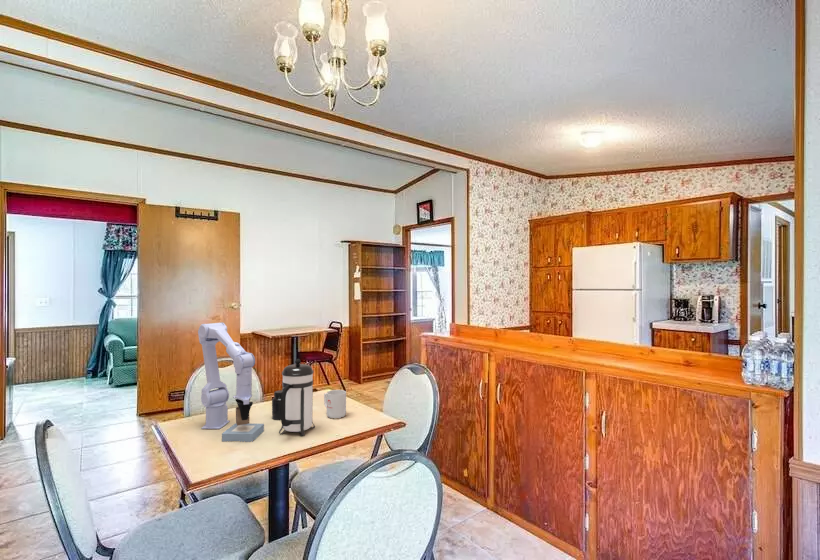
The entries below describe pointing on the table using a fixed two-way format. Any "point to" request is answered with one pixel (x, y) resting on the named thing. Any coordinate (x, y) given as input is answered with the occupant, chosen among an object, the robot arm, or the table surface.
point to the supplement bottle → (276, 405)
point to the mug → (335, 403)
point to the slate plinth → (243, 432)
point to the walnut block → (238, 418)
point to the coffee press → (297, 398)
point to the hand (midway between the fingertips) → (243, 418)
